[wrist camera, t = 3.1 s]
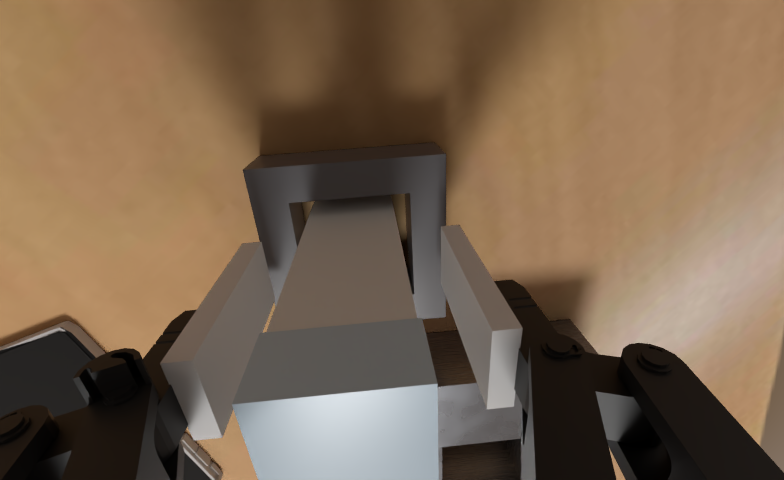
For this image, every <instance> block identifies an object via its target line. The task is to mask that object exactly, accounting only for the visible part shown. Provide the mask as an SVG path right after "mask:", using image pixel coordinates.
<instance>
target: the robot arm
mask: <svg viewBox="0 0 784 480" xmlns="http://www.w3.org/2000/svg"><path fill="white" fill-rule="evenodd" d="M441 285H442V287H443V290H444V293H445V296H446V298H447V301H448V304H449V307H450V309H451V312H452V315H453V318H454V320H455V323H456V326H457V329H458V331H459V334H460V337H461V340H462V342H463V345H464V348H465V351H466V353H467V356H468V359H469V362H470V364H471V367H472V370H473V373H474V375H475V378H476V381H477V384H478V386H479V389H480V392H481V395H482V397H483V400H484V403H485V406H486V408H487V409H496V408H506V407H514V401H515V392H516V394H517V396H518V398H519V400H520V402H521V404H522V411H521V419H520V426H519V434H518V436H519V437H521V480H616V476H615V472H614V468H613V463H612V459H611V455H610V451H609V448H610V450H611V452H612V454H613V456H614V458H615V459H616V461H617V463H618V465H619V467H620V469H621V471H622V473H623V475H624V477H625V479H626V480H784V473H783V472H782V470H780V468H779V467H778V466H777V465H776V464H775V463H774V461H772V459H771V458H770V457H769V456H768V455H767V454H766V453H765V452H764V450H763V449H762V448H761V447H760V446H759V445H758V444H757V443H756V442H755V440H754V439H753V438H752V437H751V436H750V435H749V434H748V433H747V432H746V430H745V429H744V428H743V427H742V426H741V425H740V424H739V423H738V422H737V420H736V419H735V418H734V417H733V416H732V415H731V414H730V413H729V412H728V411H727V409H726V408H725V407H724V406H723V405H722V404H721V403H720V402H719V401H718V399H717V398H716V397H715V396H714V395H713V394H712V393H711V392H710V391H709V389H708V388H707V387H706V386H705V385H704V384H703V383H702V382H701V381H700V379H699V378H698V377H697V376H696V375H695V374H694V373H693V372H692V371H691V369H690V368H689V367H688V366H687V365H686V364H685V363H684V362H683V361H682V360H681V359H680V358H678V357H677V356H676V355H675V354H673V353H671V352H669V351H667V350H665V349H664V348H661V347H658V346H654V345H651V344H644V343H635V344H629V345H628V346H626V347H625V348H623V351H622V355H621V357H614V356H606V355H599V354H593V353H588V352H585V350H584V348H583V346H582V345H580V344H579V343H578V342H577V341H576V340H574V339H572V338H570V337H568V336H566V335H562V334H558V333H557V331H556V330H555V329H554V327H553V326H552V325H551V323H550V322H549V320H548V319H547V318H546V316H545V315H544V314H543V312H542V311H541V310H540V308H539V307H537V304H536V303H535V301H534V300H533V299H531V296H530V295H529V293H528V292H527V291H526V289H525V288H524V287H523V286H521V285H520V284H518V283H517V282H515V281H513V280H503V281H493V279H492V277H491V276H490V274H489V272H488V271H487V269H486V268H485V266H484V264H483V263H482V261H481V259H480V258H479V256H478V255H477V253H476V251H475V250H474V248H473V246H472V245H471V243H470V242H469V240H468V238H467V237H466V235H465V233H464V232H463V230H462V229H461V227H460V225H451V226H441ZM274 300H275V296H274V292H273V288H272V284H271V279H270V275H269V271H268V267H267V263H266V258H265V254H264V250H263V246H262V242H253V243H242V245H241V246H240V248H239V249H238V251H237V252H236V253H235V255H234V256H233V258H232V259H231V261H230V262H229V264H228V265H227V267H226V268H225V269H224V271H223V272H222V274H221V275H220V277H219V278H218V280H217V281H216V283H215V284H214V285H213V287H212V288H211V290H210V291H209V293H208V294H207V296H206V297H205V299H204V300H203V301H202V303H201V304H200V306H199V307H198V309H197V310H190V311H185V312H183V313H182V314H181V315H179V316H178V317H177V318H175V319H174V320H173V321H171V323H170V324H169V325H168V327H167V328H166V329H165V331H164V332H163V335H161V336H160V337H159V339H158V340H157V341H156V344H154V345H153V347H152V348H151V349H150V351H149V352H148V353H147V354H146V356H145V357H144V358H143V359H142V357H141V355H140V353H139V352H138V351H136V350H135V349H127V348H124V349H119V350H114V351H111V352H108V353H106V354H103V355H100V356H99V357H97V358H95V359H93V360H92V361H90V362H88V363H87V364H86V365H84V366H83V367H82V368H81V369H80V370H78V372H77V373H76V374H75V376H74V377H73V381H74V382H75V384H76V386H77V387H78V389H79V391H80V393H81V394H82V396H83V398H84V399H85V401H86V403H87V404H88V406H87V407H84V408H81V409H78V410H75V411H72V412H68V413H65V414H62V415H59V416H56V417H53V415H52V414H51V412H50V411H49V409H48V408H47V407H44V406H42V405H31V406H27V407H24V408H21V409H17V410H15V411H12V412H10V413H9V414H6V415H4V416H2V417H0V480H183V476H184V456H185V453H184V449H183V446H182V443H181V441H180V440H181V438H182V436H183V434H184V432H185V430H186V428H187V426H188V429H189V431H190V433H191V435H192V438H193V440H194V441H195V440H204V439H214V438H222V437H223V435H224V432H225V429H226V427H227V424H228V421H229V419H230V416H231V414H232V411H233V407H232V403H233V400H234V398H235V395H236V393H237V390H238V387H239V385H240V382H241V380H242V377H243V375H244V372H245V369H246V367H247V364H248V362H249V359H250V357H251V354H252V352H253V349H254V346H255V344H256V341H257V339H258V336H259V334H260V333H262V332H263V329H264V327H265V324H266V321H267V319H268V316H269V314H270V311H271V308H272V306H273V303H274Z"/></svg>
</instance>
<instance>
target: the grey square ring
mask: <svg viewBox="0 0 784 480" xmlns="http://www.w3.org/2000/svg"><path fill="white" fill-rule="evenodd" d="M243 173H244V177H245V181H246V185H247V190H248V194H249V198H250V202H251V206H252V210H253V215H254V219H255V223H256V227H257V231H258V235H259V240H260V242H262V246H263V250H264V254H265V258H266V263H267V267H268V271H269V275H270V279H271V284H272V288H273V292H274V296H275V300H274V302H275V306H276V305H277V302H278V299H279V296H280V294H281V291H282V288H283V285H284V283H285V280H286V277H287V275H288V272H289V269H290V266H291V264H292V261H293V258H294V255H295V253H296V250H297V247H298V245H299V242H300V239H301V236H302V234H303V231H304V228H305V221H304V215H303V209H302V204H301V202H307V201H320V200H332V199H344V198H356V197H368V196H380V195H393V194H405V209H406V229H407V249H408V268H407V272H408V277H409V282H410V286H411V291H412V296H413V300H414V305H415V310H416V314H417V318H422V319H430V318H441V317H446V296H445V293H444V290H443V287H442V285H441V226H446V153H445V152H444V151H443V150H442V149H441V148H440V147H439V146H438V145H437V144H436V143H435V142H434V143H421V144H408V145H395V146H382V147H369V148H356V149H343V150H330V151H317V152H304V153H291V154H278V155H265V156H258V157H257V158H256V159H255V160H254V161H253V162H251V163H250V164H249V165H248V166H247V167H246V168H244V169H243Z"/></svg>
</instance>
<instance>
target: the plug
mask: <svg viewBox="0 0 784 480" xmlns="http://www.w3.org/2000/svg"><path fill="white" fill-rule="evenodd" d="M232 407H233V409H234V412H235V415H236V418H237V421H238V424H239V426H240V429H241V432H242V435H243V438H244V441H245V443H246V446H247V449H248V452H249V455H250V458H251V460H252V463H253V466H254V469H255V472H256V475H257V477H258V480H439V464H438V383H437V379H436V375H435V370H434V366H433V362H432V358H431V353H430V349H429V345H428V341H427V336H426V332H425V328H424V324H423V319H422V318H417V314H416V310H415V305H414V300H413V296H412V291H411V286H410V282H409V277H408V272H407V268H406V263H405V259H404V254H403V249H402V245H401V240H400V235H399V231H398V226H397V221H396V217H395V212H394V207H393V203H392V198H391V195H380V196H368V197H356V198H344V199H332V200H320V201H314V204H313V206H312V209H311V212H310V214H309V217H308V220H307V223H306V225H305V228H304V231H303V234H302V236H301V239H300V242H299V245H298V247H297V250H296V253H295V255H294V258H293V261H292V264H291V266H290V269H289V272H288V275H287V277H286V280H285V283H284V285H283V288H282V291H281V294H280V296H279V299H278V302H277V305H276V307H275V310H274V313H273V315H272V318H271V321H270V324H269V326H268V329H267V332H265V333H260V334H259V336H258V339H257V341H256V344H255V346H254V349H253V352H252V354H251V357H250V359H249V362H248V364H247V367H246V369H245V372H244V375H243V377H242V380H241V382H240V385H239V387H238V390H237V393H236V395H235V398H234V400H233V403H232Z"/></svg>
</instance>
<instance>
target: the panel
mask: <svg viewBox="0 0 784 480" xmlns="http://www.w3.org/2000/svg"><path fill="white" fill-rule="evenodd" d="M549 322H550V323H551V325H552V326H553V327H554V329H555V330H556V331H557V333H558V334H562V335H566V336H568V337H570V338H572V339H574V340H576V341H577V342H578V343H579V344H580V345H582V346H583V348H584V350H585V352H588V353H593V354H598V353H597V352H596V351H595V349H594V348H593V347H592V346H591V345H590V343H589V342H588V341H587V340H586V338H585V337H584V336H583V335H582V334H581V332H580V331H579V330H578V329H577V328H576V326H575V325H574V324H573V323H572V321H571V320H570V319H569V320H558V321H549ZM426 336H427V341H428V345H429V349H430V353H431V358H432V362H433V366H434V370H435V375H436V379H437V383H438V464H439V480H521V437H519V436H518V434H519V426H520V419H521V411H522V404H521V402H520V400H519V398H518V396H517V394H516V392H515V401H514V407H506V408H496V409H487V408H486V406H485V403H484V400H483V397H482V395H481V392H480V389H479V386H478V384H477V381H476V378H475V375H474V373H473V370H472V367H471V364H470V362H469V359H468V356H467V353H466V351H465V348H464V345H463V342H462V340H461V337H460V334H459V331H458V330H456V331H445V332H435V333H426Z"/></svg>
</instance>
